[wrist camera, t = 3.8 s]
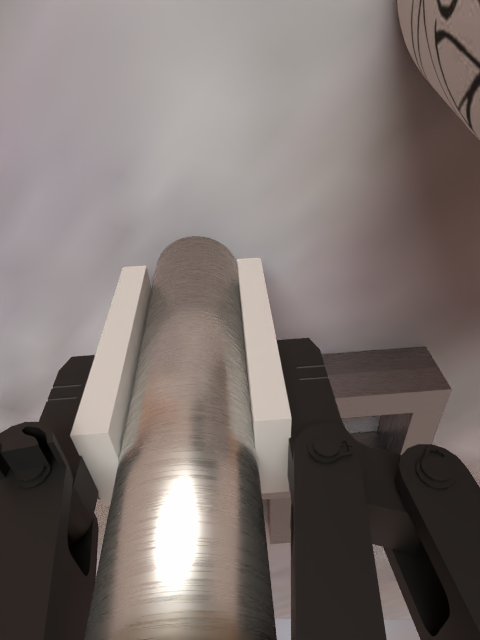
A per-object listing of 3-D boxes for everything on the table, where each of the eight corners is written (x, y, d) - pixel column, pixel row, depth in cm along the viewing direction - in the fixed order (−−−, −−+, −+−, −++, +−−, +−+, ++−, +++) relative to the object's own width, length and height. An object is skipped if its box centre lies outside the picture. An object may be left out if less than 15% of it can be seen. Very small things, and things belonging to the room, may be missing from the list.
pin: (131, 227, 14) (-66, 827, 4) (250, 218, 14) (352, 789, 4) (152, 320, 17) (62, 841, 6) (253, 313, 17) (323, 816, 7)
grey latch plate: (266, 358, 18) (270, 390, 17) (425, 347, 18) (444, 377, 17) (268, 524, 27) (271, 554, 26) (376, 515, 27) (385, 545, 26)
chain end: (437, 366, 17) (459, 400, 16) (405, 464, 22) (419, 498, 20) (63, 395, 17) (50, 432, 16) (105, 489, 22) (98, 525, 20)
